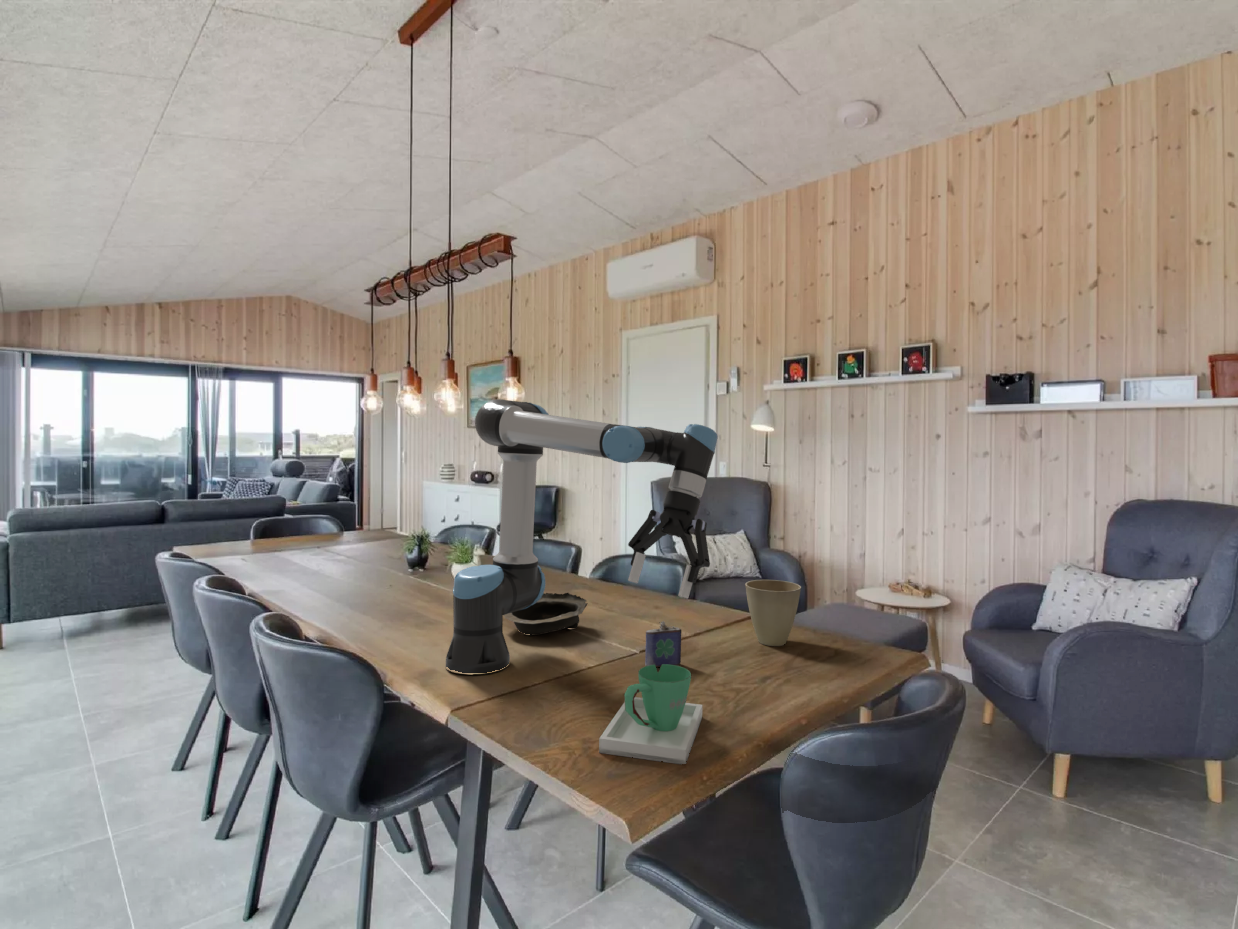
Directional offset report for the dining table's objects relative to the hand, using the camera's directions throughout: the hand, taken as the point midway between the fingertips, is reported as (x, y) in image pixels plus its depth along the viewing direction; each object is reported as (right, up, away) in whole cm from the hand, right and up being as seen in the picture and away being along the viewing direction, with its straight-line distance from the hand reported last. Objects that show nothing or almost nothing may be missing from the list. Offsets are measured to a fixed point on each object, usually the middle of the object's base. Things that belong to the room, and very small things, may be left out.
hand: (657, 589), depth 135 cm
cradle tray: (-2, -23, -18) cm, 29 cm away
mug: (-1, -22, -18) cm, 29 cm away
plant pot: (+34, -23, +41) cm, 58 cm away
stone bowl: (-30, -22, +50) cm, 62 cm away
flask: (+3, -23, +20) cm, 31 cm away
